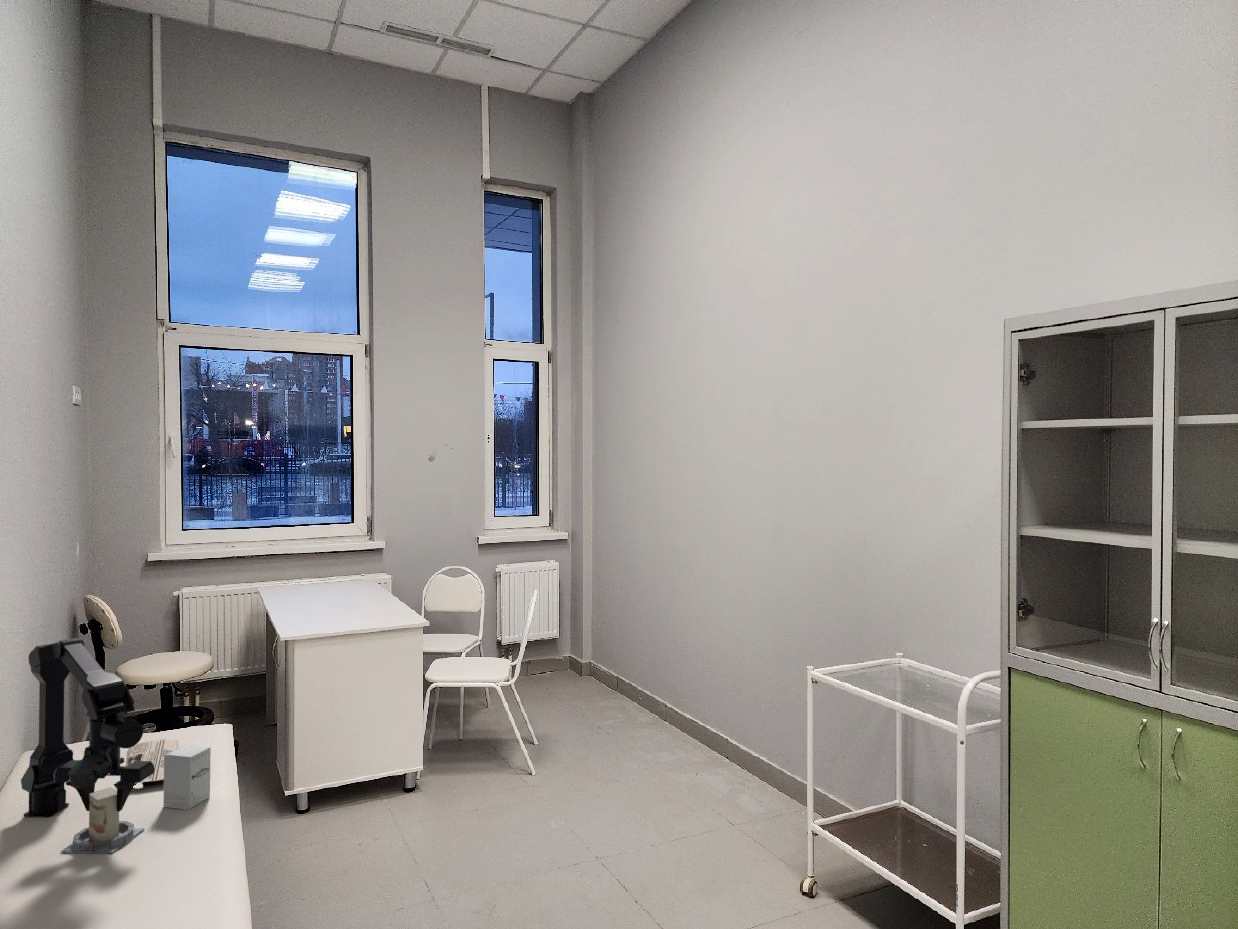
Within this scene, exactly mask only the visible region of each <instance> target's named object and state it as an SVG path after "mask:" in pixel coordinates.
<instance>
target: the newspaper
mask: <svg viewBox="0 0 1238 929" xmlns="http://www.w3.org/2000/svg"><path fill="white" fill-rule="evenodd" d="M178 746H179V739H177V740H171V739H168V738H163V739H155V740H144V741H139V742H138V743H137V744H136V745H134V746H133V747H131V748H128V752H127V758H126V763H125V766H128V765H130V764H132V763H133V762H135V761H151V762H152V763H153V764H154V773H153V774H152V775H150V776H149V777H147V778H146V779H144V780H143V781H141V782H143V783H146V782H147V783H149V782H157V781H161V785H162V786H164V755H166V754H168V753H171V752H173V751H175V750H177V749H178ZM141 782H138V783H141ZM136 784H137V783H135V784H134V785H136ZM136 790H138V789H135V788H132V789H131V791H136Z"/></svg>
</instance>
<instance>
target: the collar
mask: <svg viewBox="0 0 1238 929" xmlns="http://www.w3.org/2000/svg"><path fill="white" fill-rule="evenodd" d="M145 829H146V828H145V827H135V824H134V823H132V822H130V821H127V820H119V836H118V837H115V838H112V839H110V840H105V841H100V842H92V841H91V840H90V839H89V826H88V827H86V828H83V829H81V830H79V831H78V832H77V833H75V834H74V835H73V839H72V843H70V844H69V845H68V846H66V847H65V848H63V849H62V850H60V854H91V855H92V854H95V855H96V854H98V855H99V854H100V855H101V854H103V855H104V854H105V855H110V854H111V855H113V854H114V853H116V852H117V851H118V850H121V848H122V847H124V846H125V845H126V844H128V843H129V842H131V840H133V839H134V838H136V837H137V836H138V835H140V834H141V833H142V832H144V831H145Z"/></svg>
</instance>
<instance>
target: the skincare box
mask: <svg viewBox="0 0 1238 929" xmlns="http://www.w3.org/2000/svg"><path fill="white" fill-rule="evenodd" d="M88 813H89V814H88V827H89V839H90V840H91V841H92V842H100V841H105V840H110V839H112V838H115V837H118V836H119V821H120V811H119V812H118V811H117V789H114V788H112V787H106V788H104V789H101V790H97V791H94V792H93V793H90V794H89V811H88Z"/></svg>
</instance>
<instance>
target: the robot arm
mask: <svg viewBox="0 0 1238 929" xmlns="http://www.w3.org/2000/svg"><path fill="white" fill-rule="evenodd" d="M30 651H31V652H29V654H28V663H29V666H30V672H31V674H32V675H33V676H34V678H35V679H36V680H37V681H38V682H39V691H38V692H39V696H38V698H39V700H38V701H39V703H38V705H39V706H38V709H39V710H38V744H37V746H36V747H35V749H34V751H33V752H32V753H31V755H30V756H29V765H28V767H27V769H26V770H25V772H24V774H23V775H22V777H21V779H20V784H21V790H23V791H25V792H28V811H27V812H24V813H23V817H30V818H32V817H33V818H34V817H36V818H38V817H39V818H41V817H43V818H50V817H52V816H54V815H56V814H58V813H59V812H60V811H62V810H64V809H65V808H67V807H69V806H70V803H69V802H68V803H67V789H66V788H65V786H68V787H72V788H74V789H75V790H76V792H77V793H78V795H79V798H80V799H81V801H82V804H83V806H84V808H85V810H86V812H89V794H90V793H93V792H95V787H96V783H98V780H99V779H103V780H104V779H105V778H106V777H108V776H110V777H111V776H112V777H116V776H117V777H119V781H117V782H115V783H113V786H114V788H115V790H116V791H117V811H118V812H119V813H120V812H122V810H123V808H124V806H125V804H126V802H127V799H128V797H129V796H130V794H131V791H132V790H131V789H132V788H133V786H134V784H135V783H138V782H141V781H143V780H144V779H146V778H147V777H149V776H150V775H152V774H153V773H154V764H153V763H152V762H151V761H135V762H133V763H132V764H130V765H128V766H126V765H125V766H122V765H121V764H124V763H125V757H121V749H129V748H131V747H133V746H134V745H136V744H137V743H140V742H141V740H142V738H143V734H144V727H143V725H142V724H141V722H139V721H138V720H135V719H134V716H135V715H134V714H133V713H131V712H134V711H135V706H134V704H135V701H134V698H133V696H132V694H131V692H130V691H129V688H128V686H127V684H126V683H125V681H123V680H122V678H121V677H119V676H118V675H117V674H115V673H113V672H108V671H106V670H104V669H103V667H101V665H100V664H99V663H98V662H97V660H96V659H95V658H94V656H93V655H92V654H91V653H90V652H89V651H88V649H87V648H86V646H85V643H84V640H83V638H78V637H75V638H68V639H64V640H59V641H58V642H55V643H48V644H43V645H41V644H40V645H37V646H35V647H34V649H32V650H30ZM70 674H72V676H73V677H74V679H75V680H76V681H77V682H78V683H79V685H80V686H81V688H82V692H81V696H80V698H81V700H82V703H83V706H84V707H85V709H86V711H87V712H86V713H85V714H86V715H85V716H86V717H88V718H89V722H88V725H89V726H88V728H89V729H88V730H89V734H88V736H89V741H88V744H89V745H88V746H87V747H86V746H85V748H84V750H83V757H82V758H81V759H74V751H73V750H72V749H70V748H69V747H68V745H67V744H66V743H65V741H64V740H65V681H66V680H67V678H68V677H69V675H70Z"/></svg>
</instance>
